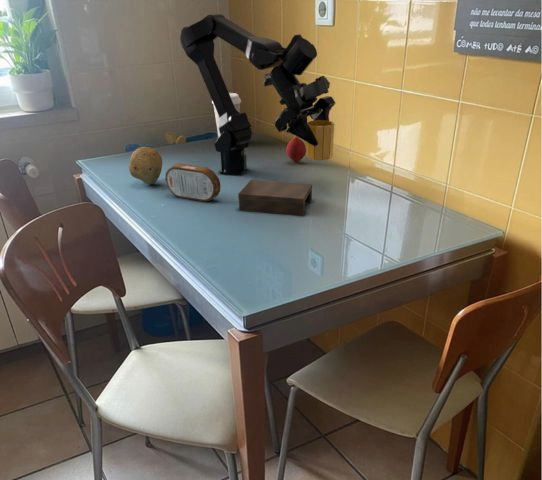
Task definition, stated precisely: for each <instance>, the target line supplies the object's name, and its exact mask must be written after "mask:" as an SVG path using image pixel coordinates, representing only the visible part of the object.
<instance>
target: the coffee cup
mask: <svg viewBox="0 0 542 480" xmlns="http://www.w3.org/2000/svg"><path fill="white" fill-rule="evenodd" d="M229 95H230V97H231V99H232V102H233V104H234V107H235V109H236V110H237V111H238V112H239V113H241V111H240V110H241V103H242V100H241V97H240V96H239V94H238V93H235V92H229ZM211 104H213V109H214V110H213V111H214V116H215V124H216V130H217V138H219V137H220V136H221V135H220V131H219V115H218V112H217V110H216V108H215V105H214V103H213V101H212V100H211Z"/></svg>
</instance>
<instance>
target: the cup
mask: <svg viewBox="0 0 542 480" xmlns="http://www.w3.org/2000/svg"><path fill="white" fill-rule="evenodd" d="M307 123H308V125H309V127H310V129H311V131H312V132H313V134H314V136H315V138H316V140H317V142H318V145H317V146H313V145H311V144H309V143H308V142H306V153H305V156H306V158H307V159H309V160H313V161H327V160H331V159H333V155H334V138H335V122H333V121H332V120H329V121H327V120H315V121H314V120H310V121H307Z"/></svg>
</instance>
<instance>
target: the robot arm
mask: <svg viewBox="0 0 542 480" xmlns="http://www.w3.org/2000/svg"><path fill="white" fill-rule="evenodd" d="M217 38H219V39H221V40H223V41H224V42H226V43H227V44H229V45H231V46H232V47H233V48H236V49H237V50H239V51H240V52H242V53H243V54H244V55H245V56H246V59H247V61H248V62H249V63H250V64H251V65H253V67H255V68H256V69H257V70H260V71H263V70H267V69H271V70H270V71H269V72H267V73H265V74H264V80H263V86H264V87H268V86H273V88H274V90H275V91H276V92H277V94H278V96H279V97H280V98H281V99H280V100H279V104H280V105H281V106H284V105H285V106H286V107H285V108H284V109H283V110H282V111H281V112H280V113H279V115H278V116H277V117H276V118H275V119H274V127H275V128H276V130H277V131H278V133H281V132H286V133H288V134H289V133H290V134H291V135H293V136H294V135H295V136H297V137H298V138H299V139H300V140H302V141H303V142H306V143H307V142H308V143H309V144H311V145H313V146H317V145H318V142H317V140H316V138H315V136H314V134H313V132H312V131H311V129H310V127H309V125H308V117H310V119H312V121H315V120H327V121H330V117H329V116H330V112H331V110H332V109H333V107H334V106H335V105H336V101H335V99H334V98H333V96H330V95H325V96H323V97H321V96H322V95H324V94H329V89H330V85H331V82H330V81H329V80H328V78H327V77H325V75H321V76H319V77H317V78H315V79H314V81H311V82H310V83H308V84H307V83H306V82H300V81H299V79H298V77H297V76H302V75H303V74H304V73H305V72H306V71H307V69H308V68H309V66H310V65H311V64H312V63H313V62H314V61H315V60H316V58H317V57H318V51H317V49H316V47H315V44H313V43H311V42H310V41H309V40H308V39H306V38H304V37H303V36H302V35H301V34H300V33H299V34H294V35H293V36H292V38H291V40H290V42H289V44H288V45H287V46H286V47H283V45H282V44H281V43H280V41H277V40H275V39H271V38H267V37H261V36H257V35H255V34H253V33H252V32H249V31H248V30H246V29H245V28H243V27H241V26H240V25H238V24H236V23H234V22H233V21H231V20H230V19H228V18H226V17H225V15H223V14H221V13H212V14H207V15H206V16H205V17H203V18H202V19H200V20H199V21H197V22H194V23H192V24H190V25H189V26H184V27H182V29H181V30H180V35H179V43H180V45H181V47H182V49H183V51H184V53H185V55H186V56H187V57H188V59H190V60H191V61H192V62H193V63H195V65H196V66H197V68H198V70H199V72H200V75H201V77H202V79H203V82H204V84H205V87H206V89H207V91H208V93H209V96H210V98H211V102H212V101H213V103H214V104H213V106H214V105H215V108H216V110H217V112H218V115H219V131H220V135H221V136H220V137H217V139H216V141H215V142H214V148H215V151H216V152H218V153H220V165H221V166H220V167H221V169H220V170H219V174H222V175H223V174H224V175H238V176H239V175H240V176H241V175H242V174H244V172H245V171H246V170H247V169H248V165H247V154H246V153H245V149H247V148H249V145H250V140H251V138H252V135H253V132H252V131H253V130H252V127H253V125H252V124H251V123H250V121H249V118H248V116H247V113H246V112H240V113H239V112H238V111H237V110H236V109H235V107H234V104H233V102H232V99H231V97H230V95H229V93H230V92H229V90H228V88H227V85H226V83H225V80H224V79H223V76H222V73H221V71H220V68H219V66H218V64H217V61H216V59H215V42H214V41H215V40H216V39H217ZM319 96H320V98H317V97H319Z"/></svg>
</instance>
